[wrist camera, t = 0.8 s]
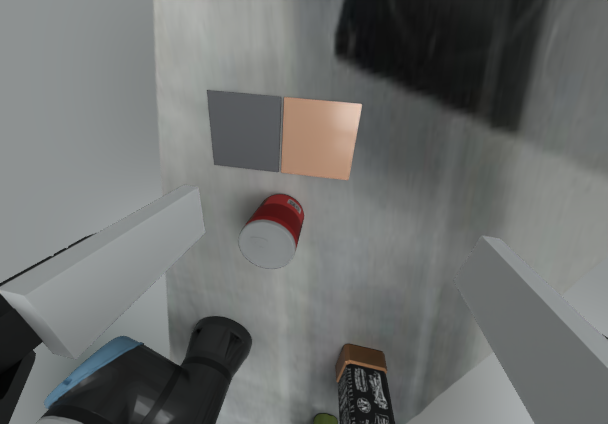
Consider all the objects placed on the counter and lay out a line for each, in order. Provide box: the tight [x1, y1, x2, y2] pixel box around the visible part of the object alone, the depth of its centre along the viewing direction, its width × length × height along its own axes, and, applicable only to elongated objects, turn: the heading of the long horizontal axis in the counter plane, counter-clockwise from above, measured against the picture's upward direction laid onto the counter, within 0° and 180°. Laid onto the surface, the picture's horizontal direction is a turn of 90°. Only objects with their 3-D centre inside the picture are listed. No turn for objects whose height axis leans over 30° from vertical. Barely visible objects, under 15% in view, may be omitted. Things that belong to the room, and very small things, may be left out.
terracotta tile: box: [281, 97, 362, 180], centre depth 33 cm, size 11×11×1 cm
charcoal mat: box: [207, 90, 281, 172], centre depth 34 cm, size 11×11×1 cm
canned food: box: [238, 194, 304, 269], centre depth 34 cm, size 8×8×11 cm
